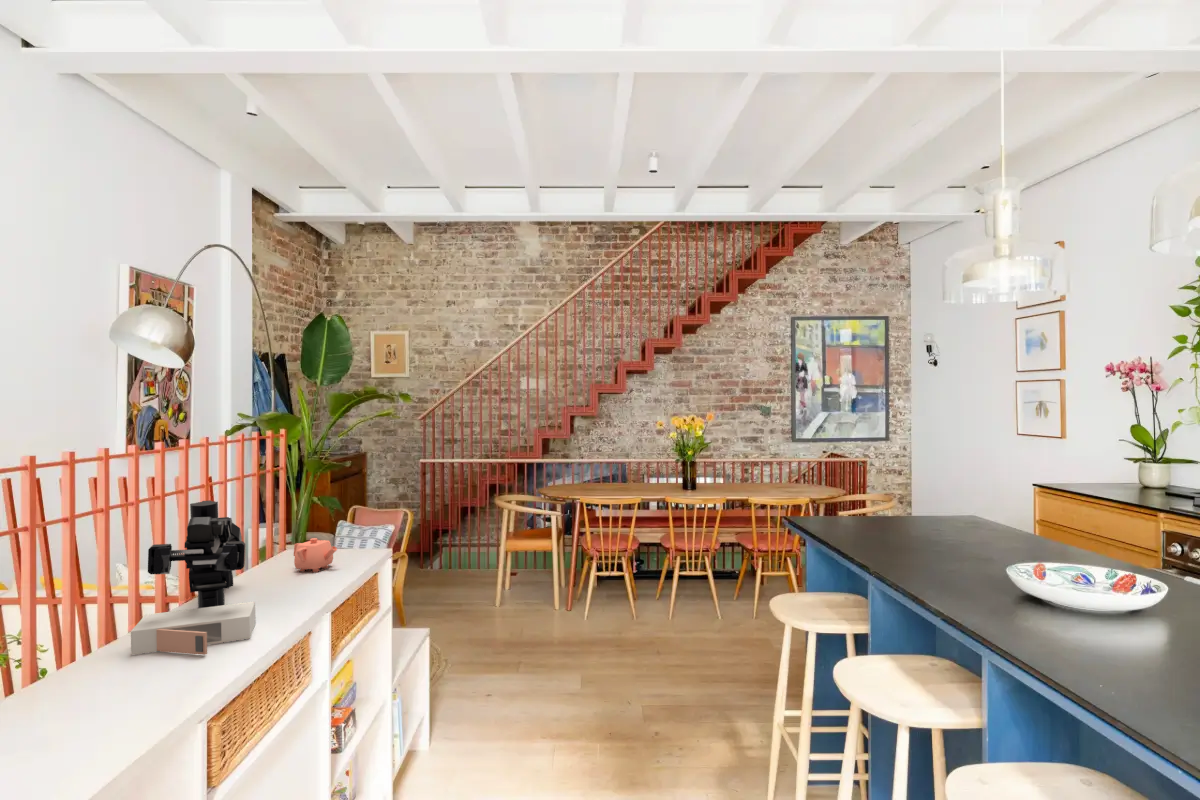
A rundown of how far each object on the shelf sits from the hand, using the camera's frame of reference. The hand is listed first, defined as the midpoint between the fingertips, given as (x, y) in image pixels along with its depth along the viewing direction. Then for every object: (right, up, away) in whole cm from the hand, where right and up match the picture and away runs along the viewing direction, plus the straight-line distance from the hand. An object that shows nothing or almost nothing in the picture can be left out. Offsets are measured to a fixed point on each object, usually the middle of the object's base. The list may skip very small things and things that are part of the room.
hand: (191, 568), depth 141 cm
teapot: (-2, -17, +65) cm, 68 cm away
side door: (0, -17, -4) cm, 17 cm away
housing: (-2, -17, +6) cm, 18 cm away
